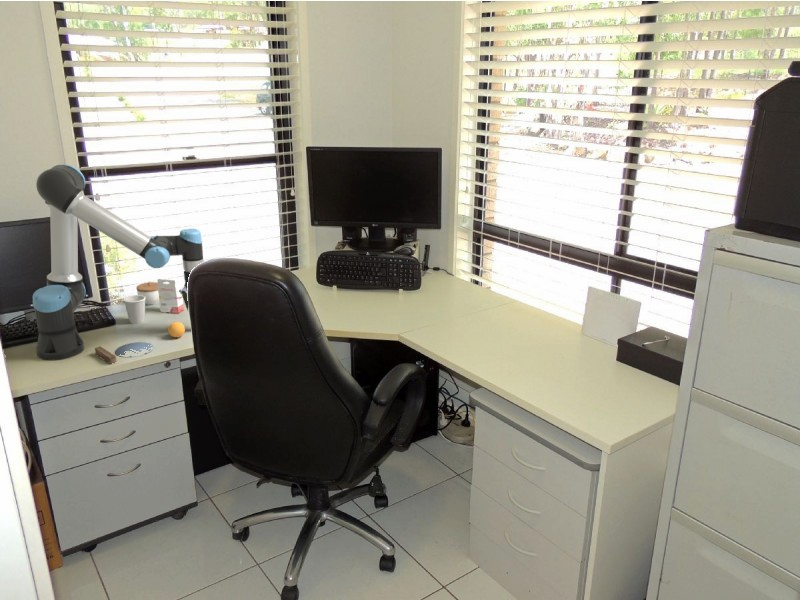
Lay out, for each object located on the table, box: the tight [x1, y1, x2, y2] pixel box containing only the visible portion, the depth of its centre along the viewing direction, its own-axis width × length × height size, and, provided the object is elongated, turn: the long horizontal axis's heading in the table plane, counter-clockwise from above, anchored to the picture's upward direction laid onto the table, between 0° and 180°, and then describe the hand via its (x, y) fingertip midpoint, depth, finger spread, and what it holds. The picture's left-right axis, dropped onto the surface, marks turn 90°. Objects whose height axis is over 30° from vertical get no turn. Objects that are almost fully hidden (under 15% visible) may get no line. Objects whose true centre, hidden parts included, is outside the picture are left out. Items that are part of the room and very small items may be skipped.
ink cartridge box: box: [157, 278, 185, 314], centre depth 263 cm, size 9×5×15 cm, turn 80°
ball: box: [167, 321, 186, 338], centre depth 238 cm, size 6×6×6 cm
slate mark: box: [115, 341, 154, 356], centre depth 227 cm, size 13×13×1 cm
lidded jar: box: [136, 281, 160, 306], centre depth 273 cm, size 11×11×9 cm
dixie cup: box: [122, 294, 146, 325], centre depth 251 cm, size 8×8×10 cm
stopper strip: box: [94, 346, 117, 365], centre depth 219 cm, size 2×12×2 cm, turn 48°
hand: (199, 326), depth 245 cm, fingers closed
